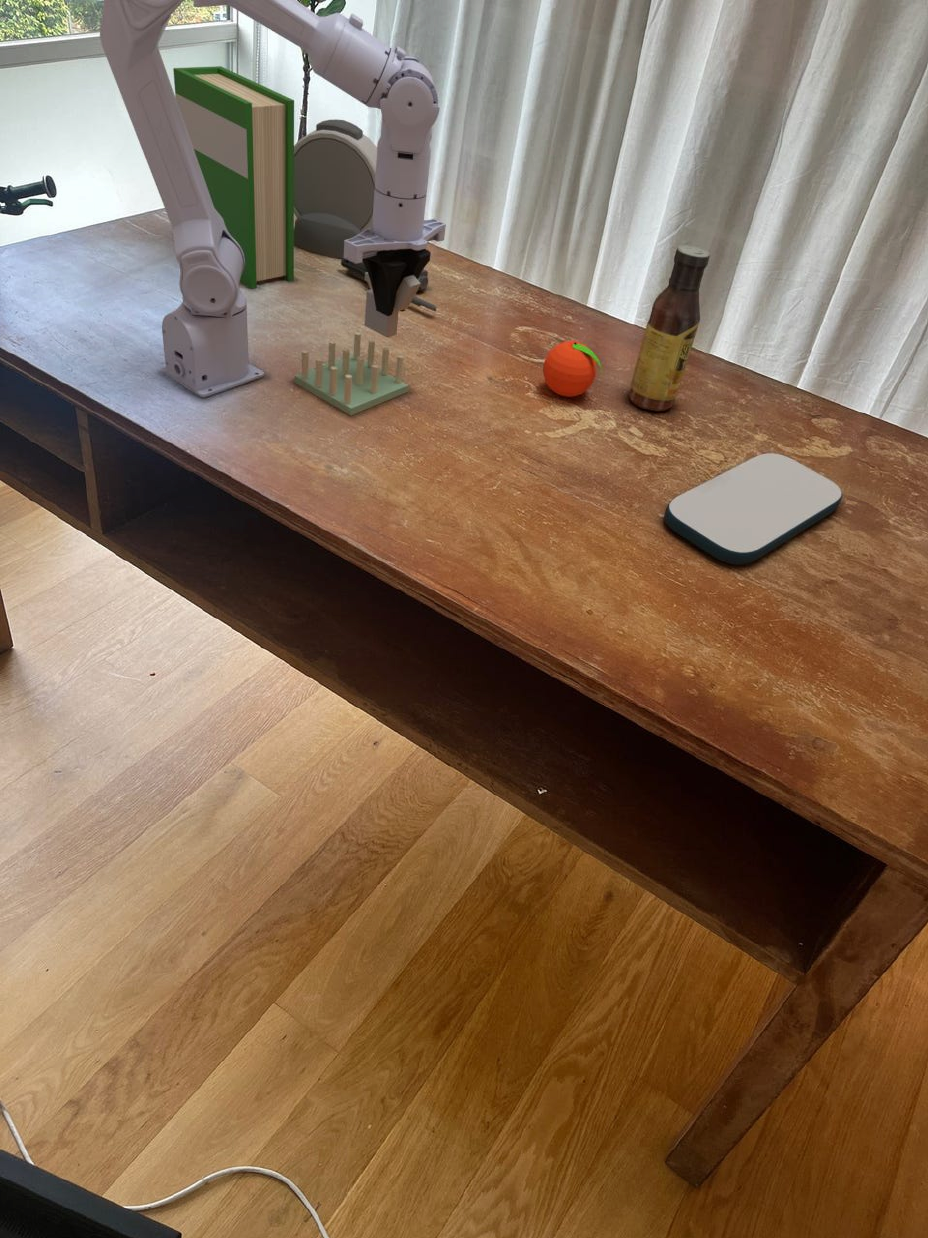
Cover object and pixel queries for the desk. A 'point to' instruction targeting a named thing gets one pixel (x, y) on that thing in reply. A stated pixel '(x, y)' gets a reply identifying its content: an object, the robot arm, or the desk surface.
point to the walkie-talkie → (361, 273)
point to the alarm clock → (333, 187)
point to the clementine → (570, 368)
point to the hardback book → (244, 162)
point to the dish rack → (352, 378)
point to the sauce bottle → (670, 333)
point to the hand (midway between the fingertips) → (390, 310)
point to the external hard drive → (752, 507)
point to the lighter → (402, 301)
